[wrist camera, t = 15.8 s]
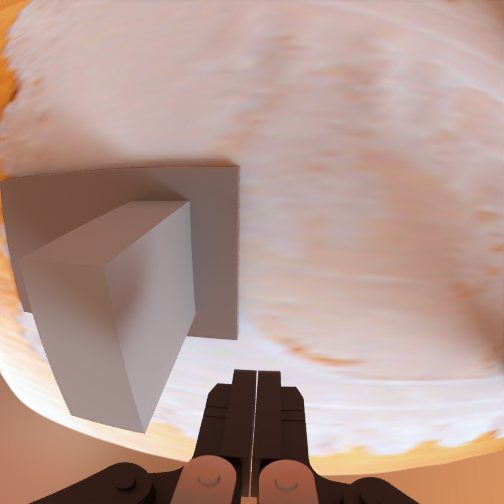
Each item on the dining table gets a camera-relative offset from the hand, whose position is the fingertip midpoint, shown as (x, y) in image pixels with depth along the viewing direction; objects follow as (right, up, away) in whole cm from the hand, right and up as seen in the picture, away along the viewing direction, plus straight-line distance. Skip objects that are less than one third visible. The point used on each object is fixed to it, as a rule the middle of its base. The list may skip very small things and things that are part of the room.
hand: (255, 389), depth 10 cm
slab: (-6, +4, +11) cm, 13 cm away
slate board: (-11, +5, +12) cm, 17 cm away
